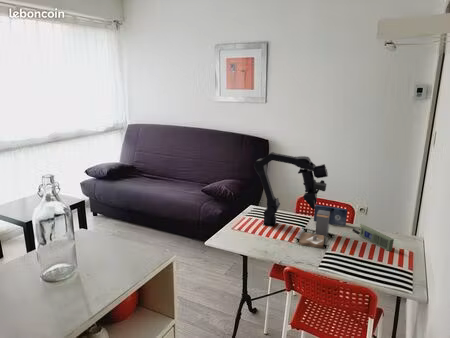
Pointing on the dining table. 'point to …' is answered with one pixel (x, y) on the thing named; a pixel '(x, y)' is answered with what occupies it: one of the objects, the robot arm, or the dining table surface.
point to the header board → (311, 240)
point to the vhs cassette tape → (333, 214)
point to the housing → (322, 222)
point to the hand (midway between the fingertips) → (314, 206)
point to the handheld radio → (375, 237)
